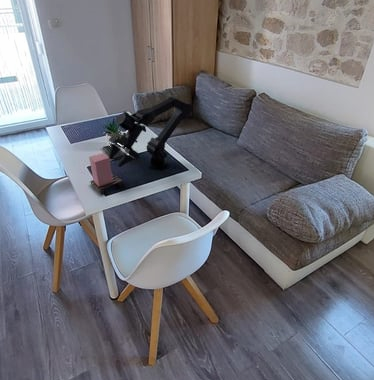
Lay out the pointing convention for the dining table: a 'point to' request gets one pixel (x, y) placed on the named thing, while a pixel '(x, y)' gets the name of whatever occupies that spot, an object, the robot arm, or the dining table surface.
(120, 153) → the phone
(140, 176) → the dining table surface
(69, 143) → the dining table surface
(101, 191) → the rack
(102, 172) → the box
